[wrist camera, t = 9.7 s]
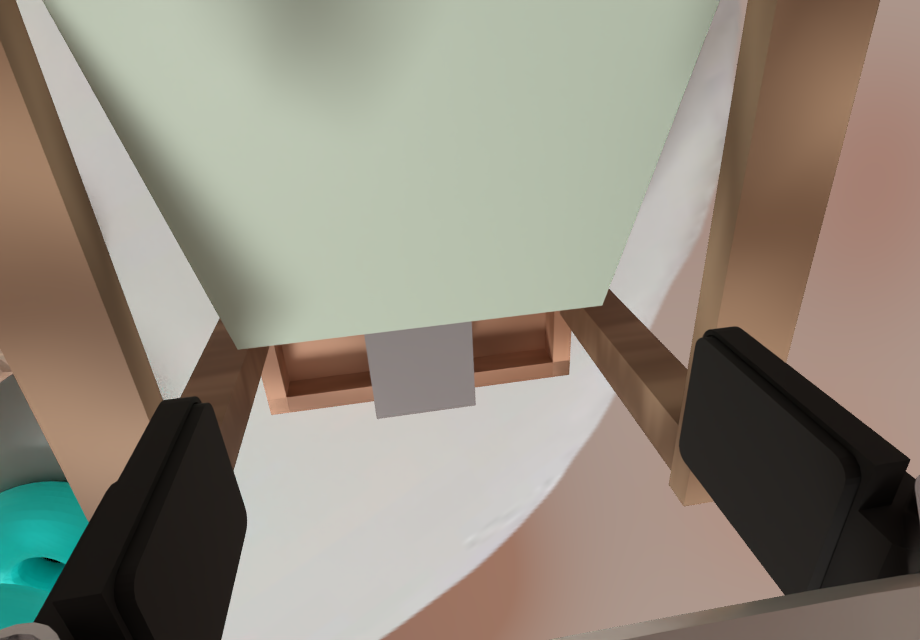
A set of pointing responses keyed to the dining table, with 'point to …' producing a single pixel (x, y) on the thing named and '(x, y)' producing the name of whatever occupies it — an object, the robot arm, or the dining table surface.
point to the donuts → (35, 545)
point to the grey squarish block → (421, 369)
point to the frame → (494, 340)
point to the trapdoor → (391, 148)
